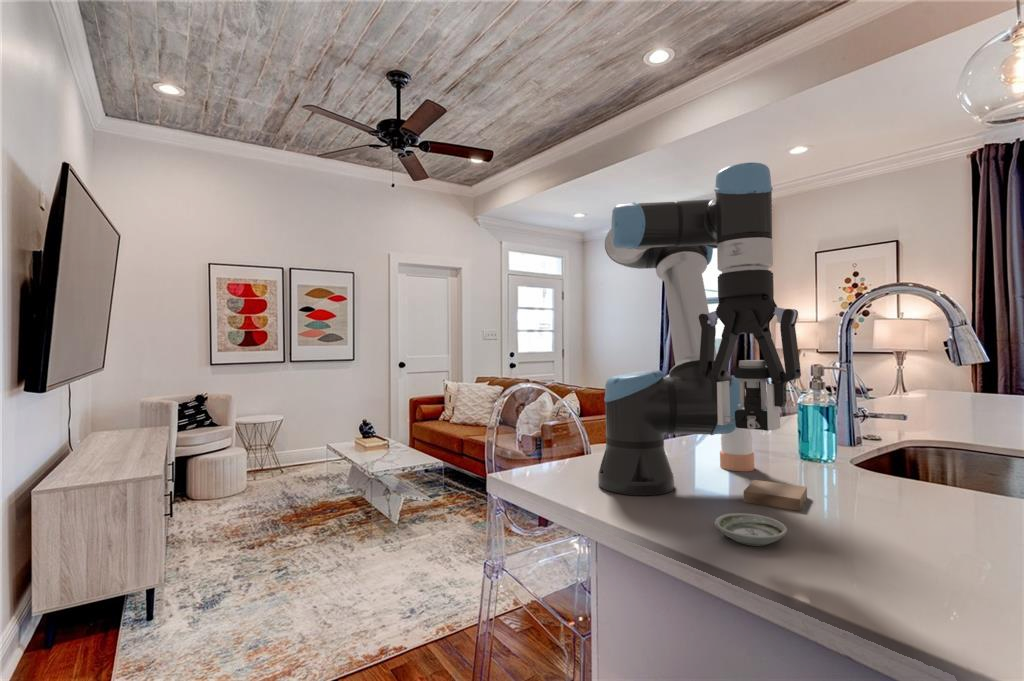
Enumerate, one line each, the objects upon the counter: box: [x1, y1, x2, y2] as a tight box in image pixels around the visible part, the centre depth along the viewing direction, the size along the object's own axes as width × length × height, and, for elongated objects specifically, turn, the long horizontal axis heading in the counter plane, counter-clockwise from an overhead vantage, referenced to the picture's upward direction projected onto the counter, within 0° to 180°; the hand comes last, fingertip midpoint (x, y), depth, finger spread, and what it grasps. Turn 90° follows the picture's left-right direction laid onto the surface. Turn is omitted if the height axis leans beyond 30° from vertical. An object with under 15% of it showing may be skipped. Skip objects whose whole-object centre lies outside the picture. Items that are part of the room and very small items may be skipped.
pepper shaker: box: [719, 388, 755, 472], centre depth 117 cm, size 7×7×19 cm
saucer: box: [714, 512, 788, 547], centre depth 75 cm, size 10×10×2 cm
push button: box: [724, 359, 772, 432], centre depth 75 cm, size 7×5×10 cm
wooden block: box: [743, 479, 808, 512], centre depth 93 cm, size 9×9×2 cm
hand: (748, 426), depth 75 cm, fingers closed on push button, 6 cm apart
